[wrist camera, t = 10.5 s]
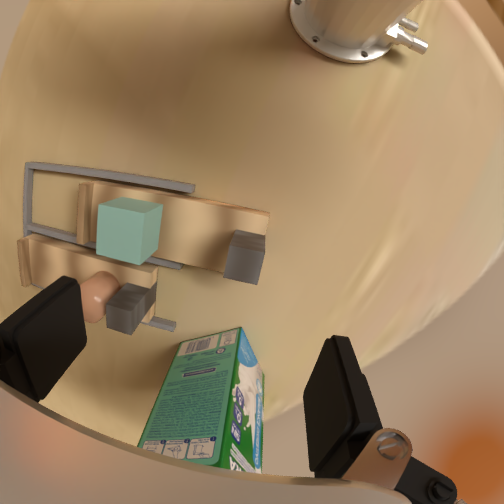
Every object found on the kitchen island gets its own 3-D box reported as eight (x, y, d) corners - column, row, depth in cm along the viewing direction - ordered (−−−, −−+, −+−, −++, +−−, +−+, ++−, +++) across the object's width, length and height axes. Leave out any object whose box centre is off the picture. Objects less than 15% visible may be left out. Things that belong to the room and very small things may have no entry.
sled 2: (269, 212, 31) (270, 230, 24) (255, 271, 33) (252, 304, 26) (97, 180, 31) (57, 188, 23) (93, 234, 33) (56, 253, 25)
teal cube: (163, 204, 29) (144, 213, 24) (157, 249, 31) (139, 265, 26) (121, 196, 29) (98, 204, 24) (118, 239, 30) (96, 253, 26)
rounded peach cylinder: (121, 275, 32) (101, 293, 27) (121, 307, 33) (103, 327, 28) (91, 267, 32) (69, 283, 27) (92, 297, 33) (72, 316, 28)
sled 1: (158, 265, 34) (131, 295, 26) (154, 313, 36) (131, 349, 28) (34, 232, 33) (-2, 249, 26) (37, 275, 36) (4, 296, 28)
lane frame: (195, 184, 31) (192, 185, 30) (175, 327, 37) (173, 332, 35) (30, 161, 30) (25, 162, 29) (32, 279, 36) (27, 282, 35)
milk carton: (264, 375, 39) (259, 543, 15) (207, 387, 40) (171, 538, 16) (241, 326, 36) (214, 518, 12) (179, 341, 37) (113, 505, 14)
